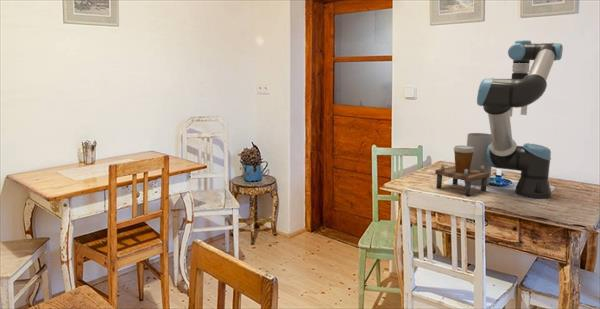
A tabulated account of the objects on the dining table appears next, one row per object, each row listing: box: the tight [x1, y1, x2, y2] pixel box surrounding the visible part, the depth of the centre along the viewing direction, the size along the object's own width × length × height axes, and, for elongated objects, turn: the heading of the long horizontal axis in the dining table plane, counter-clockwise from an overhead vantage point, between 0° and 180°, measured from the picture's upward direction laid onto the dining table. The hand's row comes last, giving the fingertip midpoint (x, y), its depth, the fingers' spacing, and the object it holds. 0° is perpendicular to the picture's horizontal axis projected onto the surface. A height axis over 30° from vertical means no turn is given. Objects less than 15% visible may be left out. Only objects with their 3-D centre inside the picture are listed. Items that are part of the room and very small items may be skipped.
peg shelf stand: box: [434, 163, 489, 197], centre depth 229 cm, size 19×16×12 cm
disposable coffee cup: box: [453, 144, 474, 173], centre depth 227 cm, size 10×10×12 cm
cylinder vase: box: [464, 132, 492, 187], centre depth 241 cm, size 12×12×25 cm
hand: (516, 115), depth 237 cm, fingers open, 13 cm apart
